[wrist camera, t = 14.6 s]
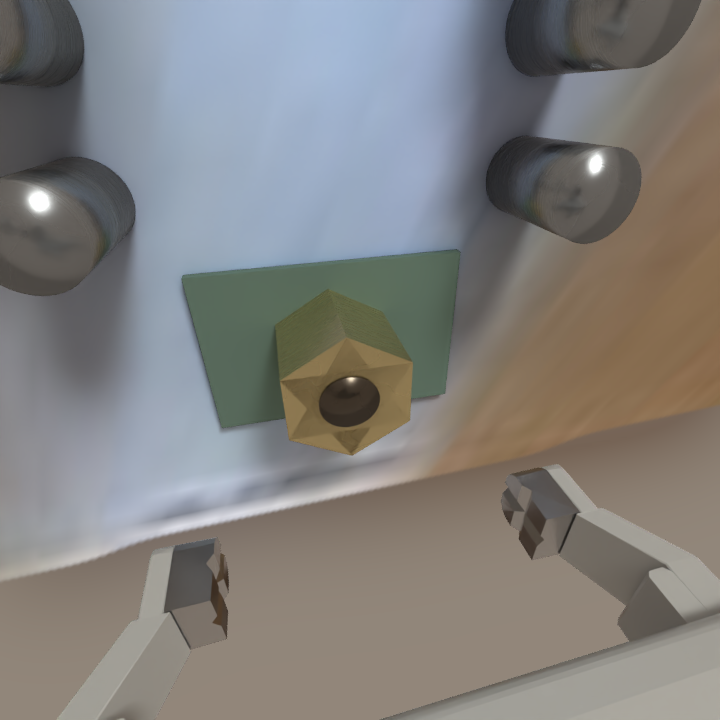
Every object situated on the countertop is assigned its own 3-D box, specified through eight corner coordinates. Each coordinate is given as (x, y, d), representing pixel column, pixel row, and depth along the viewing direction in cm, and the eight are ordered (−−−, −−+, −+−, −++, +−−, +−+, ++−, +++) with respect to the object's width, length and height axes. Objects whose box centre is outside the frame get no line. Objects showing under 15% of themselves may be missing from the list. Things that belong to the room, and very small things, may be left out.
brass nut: (286, 400, 21) (293, 467, 17) (270, 294, 18) (274, 347, 14) (382, 386, 22) (408, 446, 18) (383, 282, 19) (415, 329, 15)
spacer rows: (61, 247, 15) (-11, 301, 11) (-202, -379, 8) (-642, -839, 4) (542, 209, 19) (624, 239, 15) (640, -265, 12) (850, -465, 8)
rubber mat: (222, 422, 21) (222, 428, 21) (182, 275, 17) (181, 278, 17) (442, 389, 23) (444, 393, 23) (456, 249, 19) (460, 251, 19)
